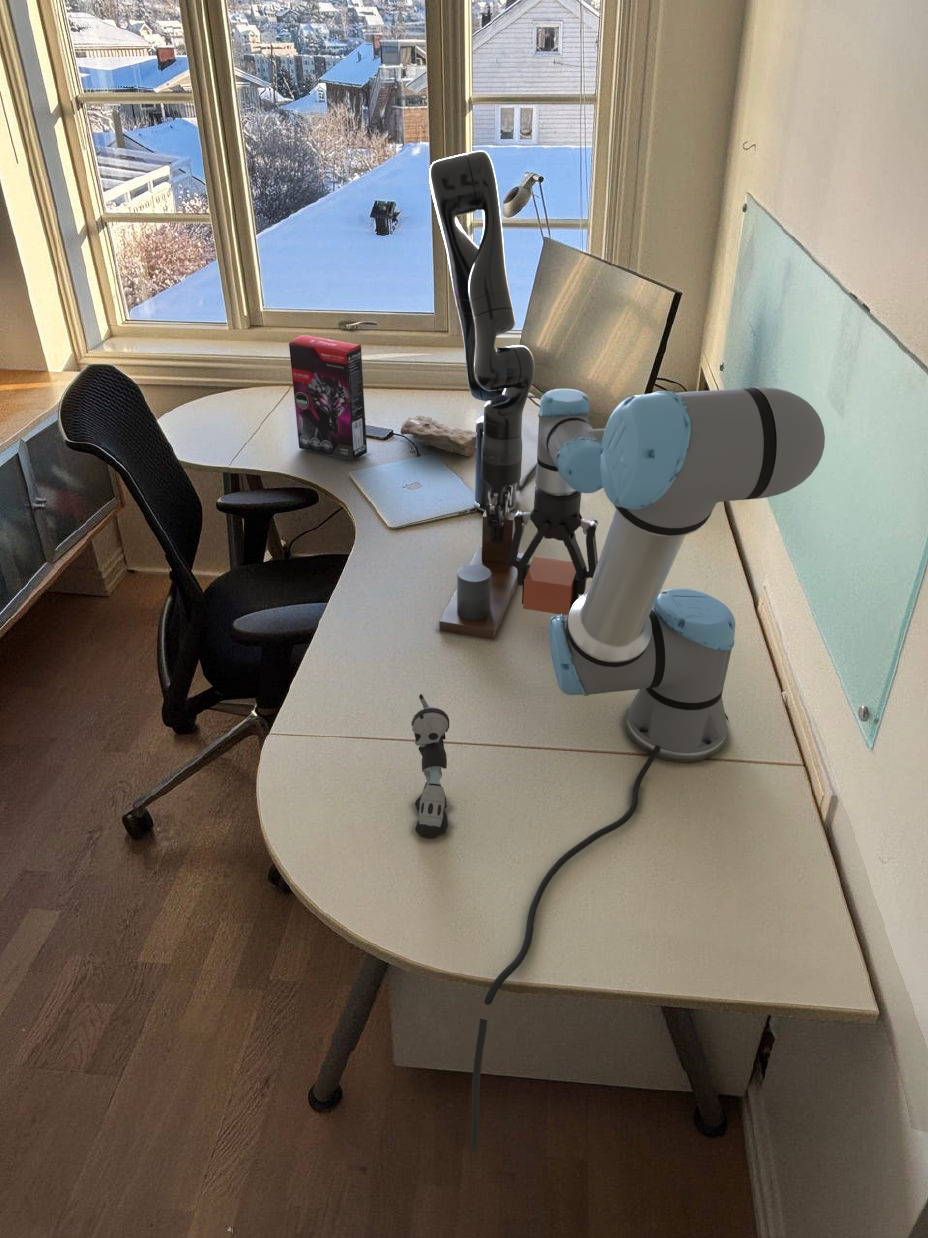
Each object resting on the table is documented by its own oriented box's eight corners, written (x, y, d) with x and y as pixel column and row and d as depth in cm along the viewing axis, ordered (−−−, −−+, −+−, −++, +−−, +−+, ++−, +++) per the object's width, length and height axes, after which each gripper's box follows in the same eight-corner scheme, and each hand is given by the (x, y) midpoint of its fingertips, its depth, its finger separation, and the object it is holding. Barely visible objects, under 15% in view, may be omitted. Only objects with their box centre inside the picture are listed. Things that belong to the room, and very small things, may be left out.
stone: (384, 439, 228) (389, 416, 226) (404, 431, 242) (409, 408, 239) (464, 464, 225) (469, 440, 222) (479, 454, 238) (485, 431, 236)
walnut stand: (493, 639, 163) (495, 581, 157) (439, 630, 165) (438, 573, 159) (526, 562, 186) (529, 508, 179) (478, 555, 188) (479, 502, 181)
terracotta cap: (568, 616, 157) (571, 586, 153) (522, 608, 158) (524, 579, 155) (576, 591, 163) (579, 562, 160) (532, 585, 165) (534, 556, 161)
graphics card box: (296, 449, 231) (285, 340, 216) (313, 439, 236) (303, 333, 221) (353, 463, 224) (346, 352, 209) (369, 453, 229) (363, 343, 214)
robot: (452, 871, 119) (452, 756, 108) (414, 872, 119) (410, 757, 108) (447, 767, 136) (446, 657, 124) (413, 768, 135) (410, 658, 124)
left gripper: (512, 473, 164) (509, 557, 173) (529, 443, 175) (525, 523, 184) (472, 468, 165) (470, 552, 175) (491, 438, 176) (488, 518, 186)
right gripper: (626, 484, 149) (612, 601, 162) (500, 468, 153) (496, 584, 166) (620, 504, 143) (606, 625, 156) (490, 487, 147) (486, 606, 160)
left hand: (498, 537), depth 180 cm, fingers closed on walnut stand, 3 cm apart
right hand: (549, 604), depth 161 cm, fingers closed on terracotta cap, 8 cm apart
